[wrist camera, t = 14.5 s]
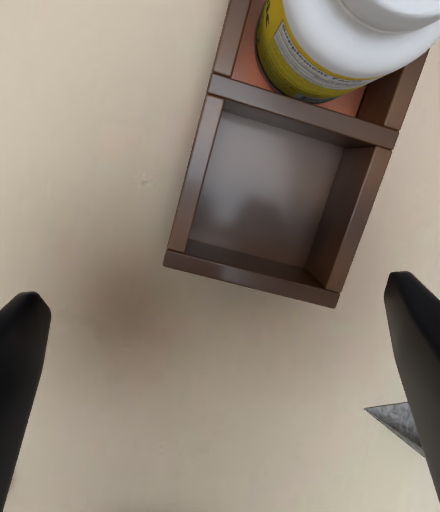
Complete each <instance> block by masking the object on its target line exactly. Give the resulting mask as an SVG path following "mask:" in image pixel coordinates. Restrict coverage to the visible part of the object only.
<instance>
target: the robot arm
mask: <svg viewBox="0 0 440 512" xmlns="http://www.w3.org/2000/svg"><path fill="white" fill-rule="evenodd" d="M384 303H385V309H386V314H387V320H388V325H389V330H390V336H391V341H392V347H393V352H394V357H395V361H396V365H397V368H398V371H399V375H400V378H401V381H402V384H403V387H404V391H405V394H406V397H407V400H408V403H409V406H410V410H411V413H412V416H413V419H414V422H415V426H416V429H417V432H418V435H419V438H420V441H421V445H422V448H423V451H424V454H425V457H426V461H427V464H428V467H429V470H430V473H431V476H432V480H433V483H434V486H435V489H436V492H437V496H438V499H439V502H440V300H439V299H438V298H437V297H436V296H435V295H434V294H432V293H431V292H430V291H429V290H428V289H427V288H426V287H425V286H424V285H423V284H422V283H421V282H420V281H419V280H418V279H417V278H416V277H415V276H414V275H413V274H412V273H410V272H408V271H400V272H392V273H390V275H389V278H388V281H387V285H386V288H385V292H384ZM50 322H51V311H50V308H49V307H48V306H47V304H46V303H45V302H44V300H43V299H42V298H41V297H40V295H39V294H38V293H37V292H21V293H19V294H18V295H16V296H15V297H14V298H13V299H12V300H11V301H10V302H9V303H8V304H7V305H5V306H4V307H3V308H2V309H1V310H0V512H3V508H4V505H5V501H6V498H7V494H8V491H9V487H10V484H11V480H12V476H13V473H14V469H15V466H16V462H17V459H18V455H19V452H20V448H21V444H22V441H23V437H24V434H25V430H26V427H27V423H28V419H29V416H30V412H31V409H32V405H33V402H34V398H35V395H36V391H37V387H38V384H39V380H40V377H41V373H42V369H43V364H44V358H45V352H46V346H47V340H48V334H49V328H50Z"/></svg>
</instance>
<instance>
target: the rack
mask: <svg viewBox="0 0 440 512" xmlns="http://www.w3.org/2000/svg"><path fill="white" fill-rule="evenodd" d="M265 1H266V0H230V1H229V5H228V9H227V13H226V17H225V21H224V25H223V29H222V33H221V37H220V40H219V44H218V48H217V52H216V56H215V60H214V64H213V68H212V73H211V76H210V80H209V84H208V88H207V92H206V96H205V100H204V103H203V107H202V111H201V115H200V119H199V123H198V127H197V131H196V135H195V139H194V143H193V147H192V151H191V155H190V159H189V163H188V167H187V170H186V174H185V178H184V182H183V186H182V190H181V194H180V198H179V202H178V206H177V210H176V214H175V218H174V222H173V226H172V230H171V234H170V237H169V241H168V245H167V250H166V253H165V257H164V261H163V266H164V267H168V268H172V269H176V270H180V271H184V272H188V273H192V274H196V275H200V276H204V277H208V278H212V279H216V280H220V281H224V282H228V283H233V284H237V285H241V286H245V287H249V288H253V289H257V290H261V291H265V292H269V293H273V294H277V295H281V296H285V297H289V298H293V299H297V300H301V301H305V302H309V303H313V304H317V305H321V306H325V307H329V308H335V307H336V304H337V302H338V299H339V296H340V293H341V291H342V288H343V286H344V283H345V280H346V277H347V275H348V272H349V269H350V266H351V264H352V261H353V258H354V255H355V253H356V250H357V247H358V244H359V242H360V239H361V236H362V233H363V231H364V228H365V225H366V223H367V220H368V217H369V214H370V212H371V209H372V206H373V203H374V201H375V198H376V195H377V192H378V190H379V187H380V184H381V181H382V179H383V176H384V173H385V170H386V168H387V165H388V162H389V159H390V157H391V154H392V151H391V150H393V149H394V146H395V143H396V140H397V138H398V135H399V130H400V129H401V126H402V123H403V121H404V118H405V115H406V112H407V110H408V107H409V104H410V101H411V99H412V96H413V93H414V91H415V88H416V85H417V82H418V80H419V77H420V74H421V71H422V69H423V66H424V63H425V60H426V58H427V55H428V52H429V49H430V48H429V49H428V50H427V51H426V52H425V53H423V54H422V55H421V56H419V57H418V58H417V59H415V60H414V61H412V62H411V63H409V64H407V65H406V66H404V67H402V68H400V69H398V70H397V71H394V72H392V73H390V74H387V75H385V76H383V77H381V78H379V79H376V80H374V81H372V82H370V83H368V84H366V85H364V86H362V87H360V88H357V89H355V90H353V91H351V92H349V93H347V94H345V95H343V96H340V97H338V98H336V99H334V100H331V101H328V102H324V103H320V104H311V103H308V102H305V101H302V100H298V99H295V98H292V97H289V96H286V95H283V94H280V93H277V92H276V91H275V90H274V89H273V88H272V87H271V86H270V85H269V84H268V82H267V81H266V79H265V78H264V76H263V74H262V72H261V70H260V68H259V65H258V62H257V58H256V52H255V33H256V27H257V23H258V19H259V16H260V13H261V10H262V8H263V5H264V3H265Z"/></svg>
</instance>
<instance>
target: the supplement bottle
mask: <svg viewBox="0 0 440 512" xmlns="http://www.w3.org/2000/svg"><path fill="white" fill-rule="evenodd" d="M439 37H440V0H266V1H265V3H264V5H263V8H262V10H261V13H260V16H259V19H258V23H257V27H256V33H255V52H256V58H257V62H258V65H259V68H260V70H261V72H262V74H263V76H264V78H265V79H266V81H267V82H268V84H269V85H270V86H271V87H272V88H273V89H274V90H275V91H276V92H277V93H280V94H283V95H286V96H289V97H292V98H295V99H298V100H302V101H305V102H308V103H311V104H320V103H324V102H328V101H331V100H334V99H336V98H338V97H340V96H343V95H345V94H347V93H349V92H351V91H353V90H355V89H357V88H360V87H362V86H364V85H366V84H368V83H370V82H372V81H374V80H376V79H379V78H381V77H383V76H385V75H387V74H390V73H392V72H394V71H397V70H398V69H400V68H402V67H404V66H406V65H407V64H409V63H411V62H412V61H414V60H415V59H417V58H418V57H419V56H421V55H422V54H423V53H425V52H426V51H427V50H428V49H429V48H430V47H431V46H432V45H433V44H434V43H435V42H436V41H437V40H438V38H439Z"/></svg>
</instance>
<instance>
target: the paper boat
mask: <svg viewBox="0 0 440 512" xmlns="http://www.w3.org/2000/svg"><path fill="white" fill-rule="evenodd" d="M365 410H366V411H367V412H368V413H370V414H371V415H372V416H373V417H375V418H376V419H377V420H378V421H380V422H381V423H382V424H383V425H385V426H386V427H387V428H388V429H390V430H391V431H392V432H393V433H395V434H396V435H397V436H398V437H400V438H401V439H402V440H403V441H405V442H406V443H407V444H408V445H410V446H411V447H412V448H413V449H415V450H416V451H417V452H418V453H420V454H421V455H422V456H423V457H425V454H424V451H423V448H422V445H421V441H420V438H419V435H418V432H417V429H416V426H415V422H414V419H413V416H412V413H411V410H410V406H409V403H402V404H395V405H387V406H380V407H373V408H366V409H365ZM425 458H426V457H425Z"/></svg>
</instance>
